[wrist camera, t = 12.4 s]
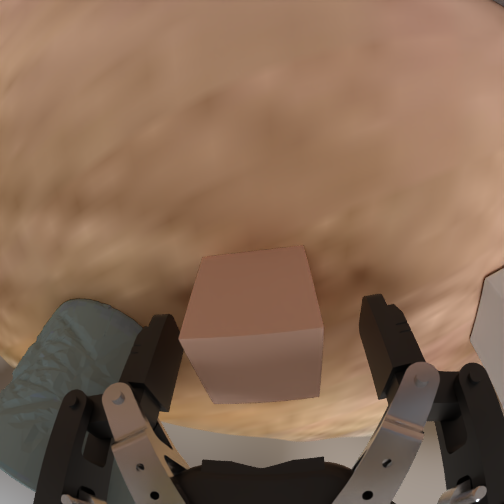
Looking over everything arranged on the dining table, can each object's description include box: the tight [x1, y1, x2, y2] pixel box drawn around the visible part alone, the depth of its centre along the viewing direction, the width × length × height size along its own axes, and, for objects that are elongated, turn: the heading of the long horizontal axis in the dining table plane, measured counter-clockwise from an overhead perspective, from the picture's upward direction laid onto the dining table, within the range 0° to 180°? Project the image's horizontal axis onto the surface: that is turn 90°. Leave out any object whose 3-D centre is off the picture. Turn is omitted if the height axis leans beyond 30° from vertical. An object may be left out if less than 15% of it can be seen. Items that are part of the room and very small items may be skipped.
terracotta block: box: [178, 245, 324, 404], centre depth 11 cm, size 5×5×5 cm
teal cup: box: [0, 299, 143, 504], centre depth 11 cm, size 10×10×12 cm
